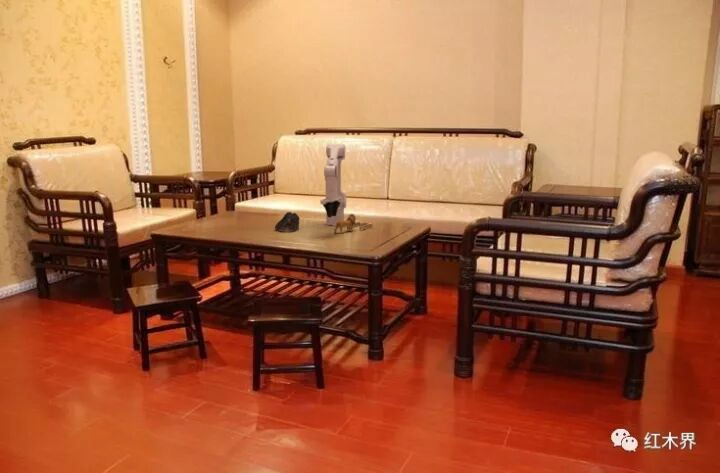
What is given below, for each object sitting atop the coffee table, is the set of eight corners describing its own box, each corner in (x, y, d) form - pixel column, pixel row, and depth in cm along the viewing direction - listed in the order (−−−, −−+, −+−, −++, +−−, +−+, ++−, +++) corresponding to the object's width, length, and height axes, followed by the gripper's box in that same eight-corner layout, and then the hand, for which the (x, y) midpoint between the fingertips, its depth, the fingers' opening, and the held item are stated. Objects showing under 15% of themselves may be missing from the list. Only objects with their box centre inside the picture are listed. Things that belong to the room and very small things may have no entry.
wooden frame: (347, 228, 311) (347, 224, 310) (359, 225, 318) (359, 221, 318) (361, 230, 305) (361, 226, 305) (372, 227, 313) (372, 223, 312)
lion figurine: (350, 229, 309) (350, 212, 307) (358, 230, 305) (358, 213, 303) (331, 234, 298) (330, 216, 296) (338, 235, 295) (338, 218, 293)
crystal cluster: (276, 234, 301) (277, 216, 298) (272, 227, 313) (273, 209, 310) (301, 235, 305) (303, 216, 302) (297, 227, 317) (298, 209, 314)
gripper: (327, 192, 281) (328, 219, 284) (346, 188, 292) (347, 215, 295) (316, 191, 285) (317, 218, 288) (336, 187, 296) (336, 213, 299)
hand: (331, 216), depth 292 cm, fingers open, 3 cm apart
